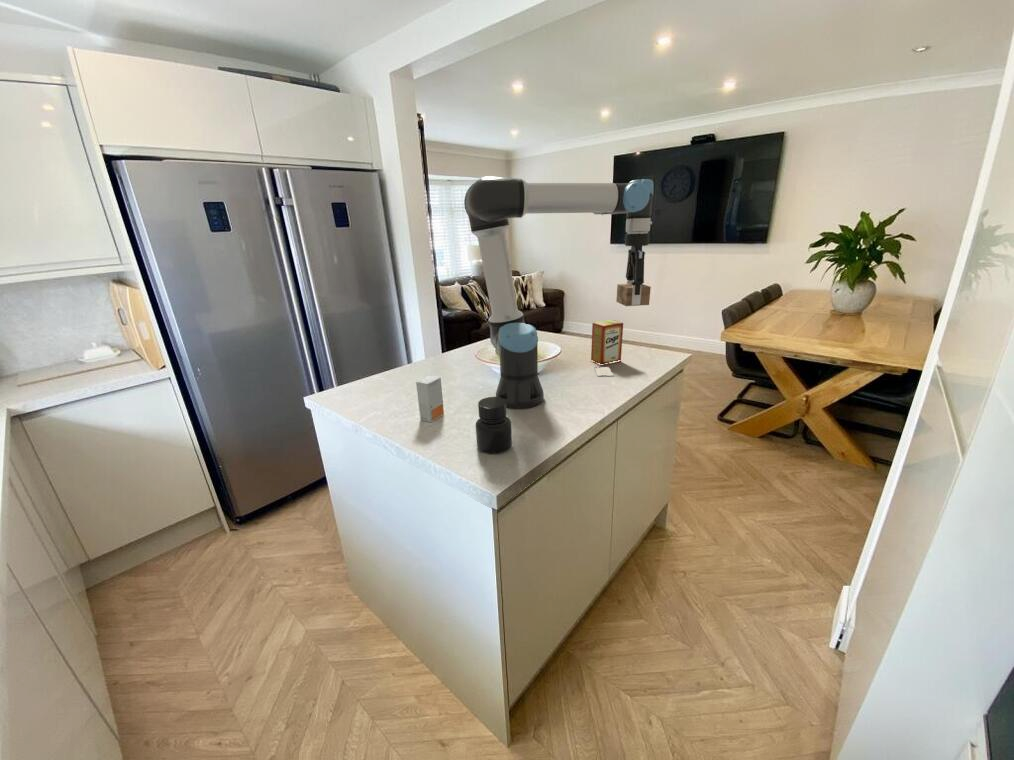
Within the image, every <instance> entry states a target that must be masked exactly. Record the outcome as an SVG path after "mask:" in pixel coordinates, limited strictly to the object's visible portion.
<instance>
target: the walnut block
mask: <svg viewBox="0 0 1014 760" xmlns="http://www.w3.org/2000/svg"><path fill="white" fill-rule="evenodd" d="M651 288H652V286H650V285H646V284H644V283H643V284H642V288H641V301H640V305H631V303H632V289H633V285H632V284H627V283H619V284H617V286H616V300H615V301H616V303H618V304H620V305H623V306H625V307H635V306H638V307H639V306H649V305H650V301H651V299H650V297H651Z"/></svg>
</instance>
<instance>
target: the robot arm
mask: <svg viewBox="0 0 1014 760" xmlns="http://www.w3.org/2000/svg"><path fill="white" fill-rule="evenodd" d="M653 199H654V181H653V180H652V179H649V178H647V179H646V178H645V179H644V178H643V179H634V180H631V181H629V182H626V183H625V182H621V183H619V182H615V183H614V182H526V181H525V180H524V179H523V178H519V177H518V178H512V177H503V176H502V177H501V176H494V175H493V176H492V175H489V176H483V177H480V178H479V179H477V180H476V181H475V182H474V183H473V184H471V185H470V186H469V188H467V190H466V193H465V195H464V200H463V201H464V203H463V204H464V205H463V206H464V210H465V212H466V214H467V216H468V220H469V221H468V222H469V227H470V231H471V234H472V235H474V236H475V237H476V238H477V241H478V246H479V251H480V257H481V263H482V269H483V274H484V280H485V285H486V290H487V296H488V300H489V305H490V310H491V311H490V312H491V315H490V316H489V318H488V324H489V329H490V332H489V338H490V342H491V345H492V346H493V348H494V349H495V351H496V352H497V354H498V356H499V368H500V369H499V370H500V371H499V372H500V377H499V382H498V386H497V389H496V392H495V397H500V398H503V399H504V400H506V409H507V408H508V409H515V410H516V409H518V410H519V409H523V410H524V409H530V408H533V407H537V406H539V405H541V404H542V403H543V401H544V398H545V397H544V395H545V393H544V390H543V387H542V384H541V381H540V377H539V372H538V369H539V365H538V361H539V358H538V357H539V356H538V354H539V351H538V342H539V337H538V331H537V329H536V327H534V325H531V324H529V323H527V324H526V323H525V318H524V313H523V312H522V311H521V310H519V308H518V303H517V297H516V291H515V285H514V279H513V273H512V266H511V265H512V264H511V260H510V254H509V247H508V241H507V236H506V232H507V230H508V229H509V227H510V223H509V219H516V218H518V219H519V218H520V219H521V218H524V216H525V215H526V214H530V215H531V214H532V215H533V214H581V213H582V214H586V213H587V214H589V213H591V214H592V213H593V214H594V215H602V216H603V215H619V214H620V215H621V214H626V221H625V233H627V234H625V236H624V237H625V240H624V245H625V246H626V247H631V248H630V249H628V250H627V251H628V255H627V263H626V271H625V272H626V273H625V278H626V284H632V285H633V289H632V303H631V305H639V306H641V305H640V301H641V288H642V284H643V285H644V283H645V255H646V252H645V251H643V247H645V246H649V244H650V235H651V234H650V233H649V232H650V231H651V225H653V221H651V220H652V218H651V217H652V213H653V212H652V211H653V210H652V209H653V202H654V201H653Z"/></svg>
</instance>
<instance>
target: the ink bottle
mask: <svg viewBox="0 0 1014 760" xmlns="http://www.w3.org/2000/svg"><path fill="white" fill-rule="evenodd" d="M477 407H478V416H479V418H478V419H477V420H476V422H475V436H476V447H477V449H478V451H479V452H482V453H485V454H490V455H493V454H494V455H495V454H503V453H505V452H508V450H510V448H512V444H513V434H512V429H513V428H512V421H511V419H510V418H509V417H508V416H507V407H506V400H504V399H503V398H500V397H496V396H488V397H484V398H482V399H480V400H479V401H478V404H477Z"/></svg>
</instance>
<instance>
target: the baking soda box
mask: <svg viewBox="0 0 1014 760" xmlns="http://www.w3.org/2000/svg"><path fill="white" fill-rule="evenodd" d="M623 331H624V322H621V321H618V320H614V319H609V320H607V319H606V320H602V321H597V322H592V328H591V353H590V354H591V356H590V361H591V360H593V361H595V362H597V363H600V364H605V363H609V362H613V361H618V360H621V361H622V348H623Z"/></svg>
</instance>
